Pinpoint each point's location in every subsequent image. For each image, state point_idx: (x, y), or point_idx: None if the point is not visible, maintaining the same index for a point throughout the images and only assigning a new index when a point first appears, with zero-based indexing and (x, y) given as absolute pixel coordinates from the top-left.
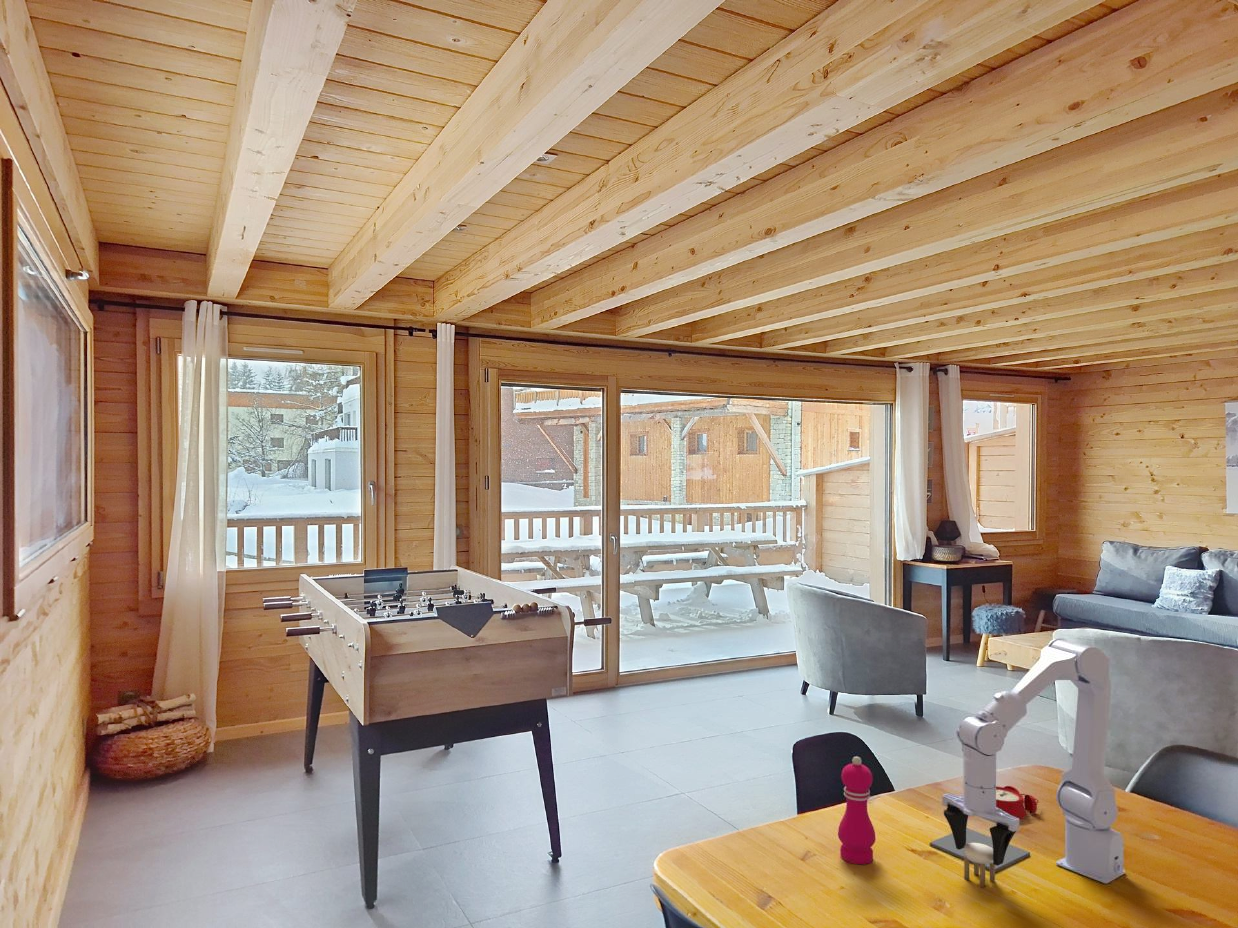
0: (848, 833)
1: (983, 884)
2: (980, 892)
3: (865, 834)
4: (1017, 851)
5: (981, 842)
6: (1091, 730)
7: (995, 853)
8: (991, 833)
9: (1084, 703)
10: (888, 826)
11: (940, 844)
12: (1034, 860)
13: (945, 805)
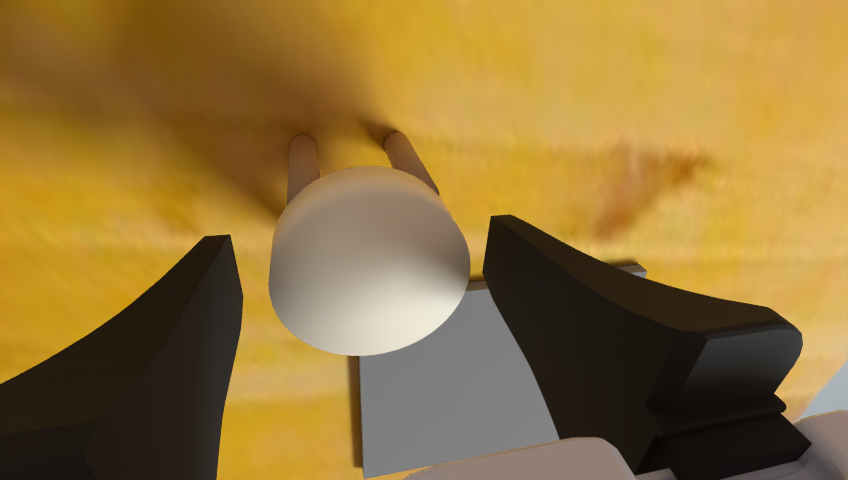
0: None
1: (291, 142)
2: (254, 63)
3: None
4: (392, 454)
5: (504, 409)
6: None
7: (180, 274)
8: (102, 394)
9: None
10: (798, 254)
11: None
12: (331, 458)
13: (819, 420)
